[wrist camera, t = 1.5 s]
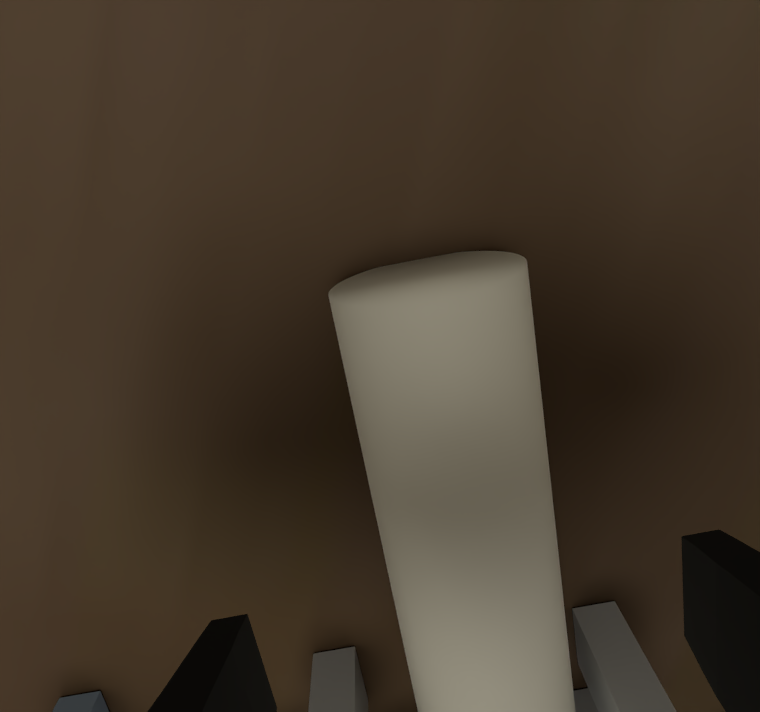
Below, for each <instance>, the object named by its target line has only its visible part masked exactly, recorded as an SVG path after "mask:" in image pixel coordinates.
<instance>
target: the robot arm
mask: <svg viewBox="0 0 760 712" xmlns="http://www.w3.org/2000/svg"><path fill="white" fill-rule="evenodd" d="M682 566H683V601H684V636H685V638H686V639H687V641H688V643H689V645H690V647H691V649H692V651H693V653H694V655H695V657H696V659H697V661H698V663H699V665H700V667H701V669H702V671H703V673H704V675H705V676H706V678H707V680H708V682H709V684H710V686H711V688H712V689H713V691H714V693H715V695H716V697H717V698H718V700H719V701H720V703H721V705H722V706H723V708H724V709H725V711H726V712H760V552H758V551H756V550H755V549H753V548H751V547H750V546H748V545H746V544H744V543H743V542H741V541H739V540H737V539H735V538H734V537H732V536H730V535H728V534H726V533H724V532H723V531H721V530H715V531H709V532H704V533H698V534H692V535H687V536H682ZM276 710H277V707H276V703H275V700H274V697H273V694H272V691H271V688H270V684H269V681H268V678H267V675H266V672H265V669H264V665H263V662H262V659H261V656H260V653H259V650H258V646H257V643H256V640H255V637H254V634H253V631H252V627H251V624H250V621H249V618H248V615H247V614H245V615H239V616H234V617H228V618H223V619H217V620H212V621H211V622H210V623H209V625H208V626H207V627H206V629H205V630H204V631H203V633H202V634H201V636H200V637H199V638H198V640H197V641H196V643H195V644H194V646H193V647H192V649H191V650H190V652H189V653H188V654H187V656H186V657H185V659H184V660H183V662H182V663H181V665H180V666H179V668H178V669H177V671H176V672H175V673H174V675H173V676H172V678H171V679H170V681H169V682H168V684H167V685H166V687H165V688H164V689H163V691H162V692H161V694H160V695H159V697H158V698H157V699H156V701H155V702H154V704H153V705H152V706H151V708H150V709H149V711H148V712H276Z"/></svg>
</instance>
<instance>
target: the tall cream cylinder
mask: <svg viewBox="0 0 760 712" xmlns="http://www.w3.org/2000/svg"><path fill="white" fill-rule="evenodd" d="M328 296H329V301H330V306H331V310H332V315H333V319H334V324H335V329H336V333H337V338H338V343H339V347H340V352H341V357H342V361H343V366H344V371H345V375H346V380H347V385H348V389H349V394H350V399H351V403H352V408H353V412H354V417H355V422H356V426H357V431H358V436H359V440H360V445H361V450H362V454H363V459H364V464H365V468H366V473H367V478H368V482H369V487H370V491H371V496H372V501H373V505H374V510H375V515H376V519H377V524H378V529H379V533H380V538H381V543H382V547H383V552H384V557H385V561H386V566H387V570H388V575H389V580H390V584H391V589H392V594H393V598H394V603H395V608H396V612H397V617H398V622H399V626H400V631H401V636H402V640H403V645H404V649H405V654H406V659H407V663H408V668H409V673H410V677H411V682H412V687H413V691H414V696H415V701H416V705H417V710H418V712H576V711H575V702H574V693H573V683H572V674H571V665H570V656H569V646H568V637H567V628H566V618H565V609H564V600H563V591H562V581H561V572H560V563H559V554H558V544H557V535H556V526H555V516H554V507H553V498H552V489H551V479H550V470H549V461H548V451H547V442H546V433H545V424H544V414H543V405H542V396H541V386H540V377H539V368H538V359H537V349H536V340H535V331H534V322H533V312H532V303H531V294H530V284H529V275H528V266H527V260H526V259H525V257H523V256H521V255H519V254H515V253H510V252H503V251H467V252H456V253H451V254H445V255H440V256H435V257H429V258H424V259H419V260H414V261H408V262H403V263H398V264H392V265H387V266H382V267H377V268H374V269H371V270H368V271H365V272H362V273H359V274H357V275H354V276H352V277H349V278H347V279H345V280H343V281H341V282H340V283H338V284H337V285H335V286H334V287H333V288H332V289H331V290H330V291H329V293H328Z"/></svg>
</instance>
